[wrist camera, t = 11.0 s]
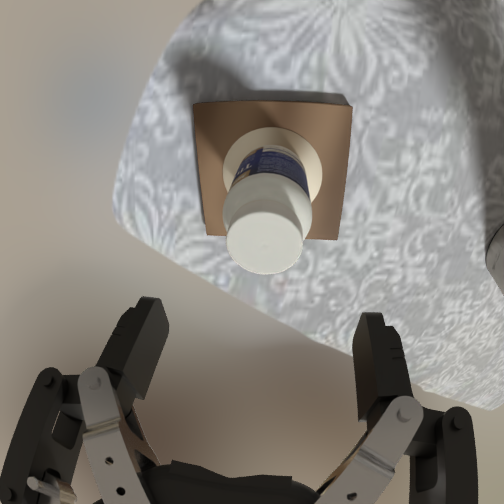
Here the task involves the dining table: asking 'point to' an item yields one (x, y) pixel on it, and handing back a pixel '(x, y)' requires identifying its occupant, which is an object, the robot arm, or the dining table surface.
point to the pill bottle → (267, 210)
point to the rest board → (282, 134)
